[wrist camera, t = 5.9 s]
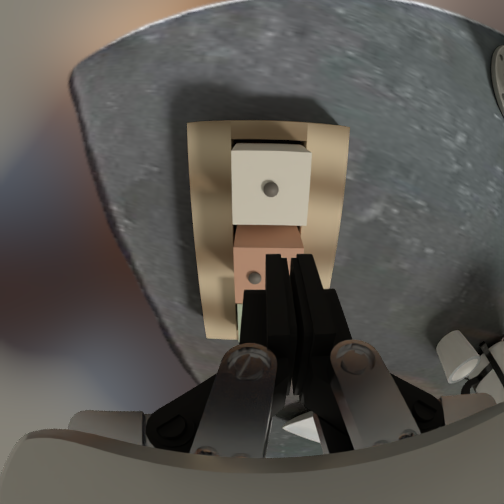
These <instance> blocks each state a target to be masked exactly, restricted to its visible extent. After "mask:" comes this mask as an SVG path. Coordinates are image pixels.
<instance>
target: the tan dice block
mask: <svg viewBox="0 0 504 504" xmlns="http://www.w3.org/2000/svg"><path fill="white" fill-rule="evenodd" d="M266 254H281V258H287V263H288V269H289V275H290V263H291V258H296V255H297V254H304V246H303V243H302V240H301V237H300V233H299V230H298V227H297V226H293V225H237V228H236V234H235V240H234V246H233V255H234V285H235V303H243V294H244V290H265V260H266Z"/></svg>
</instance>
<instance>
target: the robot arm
mask: <svg viewBox="0 0 504 504" xmlns="http://www.w3.org/2000/svg"><path fill="white" fill-rule="evenodd" d="M491 73H492V82H493V87H494V92H495V96H496V99H497V102H498V105H499V107H500V110H501V112H502V114H503V116H504V45H501V46H498V47H497V48H496V49H495V51H494V53H493V56H492V63H491ZM291 380H292V385H293V394H294V395H299V399H300V403H304V404H305V407H307V408H308V409H309V410H311V411H312V412H313V419H314V423H315V426H316V429H317V433H318V436H319V440H320V443H321V446H322V450H323V453H324V455H315V456H304V457H288V458H266V452H267V447H268V441H269V436H270V430H271V424H272V417H273V416H275V415H276V414H277V413H278V412H279V411H280V410H282V409H283V408H284V406H285V399H286V395H289V392H290V386H291ZM0 504H504V402H501V403H498V404H496V401H495V399H494V398H493V397H492V396H491V395H489V394H487V393H474V394H463V395H450V396H441V397H440V398H439V399H437V398H435V397H434V396H432V395H431V394H429V393H427V392H425V391H423V390H421V389H419V388H417V387H415V386H413V385H412V384H410V383H408V382H406V381H404V380H402V379H400V378H398V377H397V376H395V375H393V374H391V373H390V372H389V370H388V369H387V367H386V365H385V363H384V361H383V360H382V358H381V356H380V354H379V353H378V351H377V350H376V349H375V348H374V347H373V346H372V345H370V344H369V343H366V342H364V341H361V340H355V339H353V340H352V337H351V334H350V331H349V328H348V325H347V322H346V319H345V316H344V313H343V310H342V307H341V304H340V301H339V299H338V296H337V293H336V291H335V289H323V286H322V283H321V279H320V276H319V273H318V270H317V267H316V264H315V260H314V257H313V255H312V254H297V255H296V258H291V263H290V275H289V269H288V263H287V258H281V254H266V260H265V290H244V294H243V306H242V317H241V329H240V341H239V345H236V346H234V347H232V348H230V349H229V350H228V351H227V352H226V353H225V354H224V356H223V358H222V360H221V363H220V366H219V369H218V371H217V373H216V374H215V375H213V376H212V377H210V378H209V379H207V380H206V381H204V382H202V383H201V384H199V385H198V386H196V387H195V388H193V389H191V390H190V391H188V392H186V393H185V394H183V395H182V396H180V397H178V398H176V399H175V400H173V401H171V402H170V403H168V404H166V405H165V406H163V407H161V408H159V409H158V410H157V411H155V412H154V413H153V414H144V413H143V412H142V411H94V410H85V411H80V412H78V413H76V414H75V415H74V416H73V417H72V418H71V420H70V423H69V426H68V429H43V430H38V431H33V432H30V433H28V434H26V435H24V436H23V437H21V438H20V439H19V441H18V442H17V443H16V444H15V446H14V447H13V449H12V451H11V453H10V454H9V456H8V458H7V461H6V463H5V465H4V467H3V470H2V472H1V475H0Z"/></svg>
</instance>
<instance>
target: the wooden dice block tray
mask: <svg viewBox="0 0 504 504" xmlns="http://www.w3.org/2000/svg"><path fill="white" fill-rule="evenodd" d="M349 130H350V127H346V126H340V125H332V124H322V123H310V122H296V121H274V120H222V121H200V122H190V123H187V138H188V160H189V178H190V193H191V206H192V219H193V230H194V241H195V251H196V260H197V269H198V278H199V286H200V294H201V302H202V309H203V317H204V324H205V330H206V337H207V338H212V339H237V340H239V336H238V310H237V303H235V285H234V255H233V246H234V240H235V225H233V220H232V171H231V150H232V149H233V147H234V139H277V140H299V141H301V145H302V146H303V147H305V148H306V149H307V150H309V151H310V152H312V160H311V176H310V190H309V203H308V215H307V226H297V227H298V230H299V233H300V237H301V240H302V243H303V246H304V254H312V255H313V257H314V260H315V264H316V267H317V270H318V273H319V276H320V279H321V283H322V286H323V289H329V287H330V282H331V276H332V271H333V265H334V259H335V254H336V247H337V241H338V234H339V228H340V221H341V213H342V205H343V197H344V188H345V179H346V169H347V158H348V145H349Z"/></svg>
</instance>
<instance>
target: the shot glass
mask: <svg viewBox="0 0 504 504" xmlns="http://www.w3.org/2000/svg"><path fill="white" fill-rule="evenodd" d="M436 352H437V354H438V356H439V359H440V361H441V364H442V367H443V369H444V372H445V375H446V377H447V380H448V382H449V383H456V382H458V381H460V380H462V379H464V378H465V377H467V376H468V375H469V374H470V373H471V372H472V371H473V370H474V369H475V368H476V367H477V366H478V364H479V362H480V359H481V357H480V356H479V354H478V353H477V352H476V350H475V349H474V348H473V347H472V345H471V344H470V343H469V342H468V340H467V339H466V338H465V337H464V336H463V334H462V333H461V332H460V331H459V330H455V331H452V332H450V333H448V334H447V335H445V336H444V337H443V338H442V339H441V340H440V342H439V343H438V345H437V347H436Z"/></svg>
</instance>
